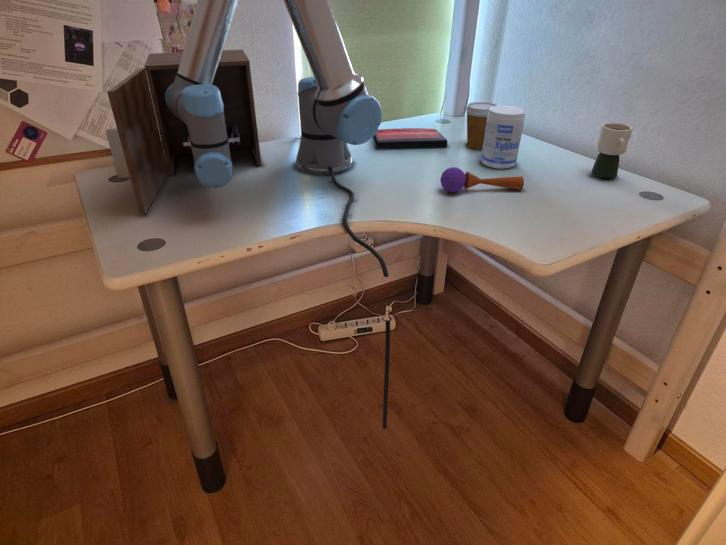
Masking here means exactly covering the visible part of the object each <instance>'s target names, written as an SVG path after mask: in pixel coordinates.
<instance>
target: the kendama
mask: <svg viewBox="0 0 726 545" xmlns="http://www.w3.org/2000/svg"><path fill="white" fill-rule="evenodd" d="M441 173H442V174H441V176H440V181H439V182H440V185H441V187H442V188H443V189H444V191H446V192H449V193H457V192H460V191H461V190H462V189H463V188H464V189H465V190H469V189H471V188H473V187H476V186H478V185H481V184H482V185H488V186H493V187H499V188H505V189H511V190H518V191H521V190H523V188H524V185H525V179H524V176H521V175H520V176H505V177H504V176H503V177H493V178H491V177H490V178H488V177H487V178H480V177H478V176H476V175H475V174H472V173H471V172H469V171H466V172H464V170H462V169H461V168H459V167H455V166H452V167H448V168H446V169H445V170H444V171H443V172H441Z"/></svg>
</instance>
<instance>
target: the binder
mask: <svg viewBox="0 0 726 545" xmlns="http://www.w3.org/2000/svg"><path fill="white" fill-rule="evenodd" d="M373 138H374V141H375V144H376V148H377V149H378V150H388V149H389V150H391V149H422V148H423V149H424V148H425V149H426V148H427V149H429V148H447V147H448V139H446V137H444V135H442V133H440V132H439V130H437V129H435V128H423V127H421V128H420V127H410V128H408V127H407V128H406V127H403V128H402V127H401V128H381V129H379V128H378V131H377V132H376V134H375V135H374V136H373Z"/></svg>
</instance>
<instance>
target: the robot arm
mask: <svg viewBox="0 0 726 545" xmlns="http://www.w3.org/2000/svg"><path fill="white" fill-rule="evenodd" d="M282 1H283V3H284V6H285V8H286V11H287V13H288V15H289V19H290V21H291V23H292V25H293V28H294V30H295V32H296V35H297V38H298V40H299V42H300V45H301V47H302V50H303V53H304V55H305V57H306V60H307V63H308V65H309V67H310V69H311V72H312V75H313V76H308V77H307V76H306V77H304V78H301V79H299V81H298V84H297V96H298V109H299V111H298V112H299V123H300V142H299V146H298V150H297V154H296V158H295V162H296V164H295V165H296V168H297V169H298V170H299V171H301V172H304V173H306V174H312V175H320V176H321V175H330V177H331V181H332V183H333V184H334V186H335V187H336V188H338V189H339V190H342V191H344V192H345V193H348V194H349V199H348V201H347V203H346V206H345V209H344V212H343V217H342V220H343V221H342V222H343V227H344V229H345V231H346V232H347V234H348V235H349V237H350V238H351V239H352V240H353V241H354V242H356V243H357V244H358V245H360V247H363V248H364V249H366V250H368V251H369V252H370V253H371V254H372V255H373V256H374V257H375V258H376V259H377V260H378V262H379V264H380V267H381V270H382V274H383V277H384V278H388V277H389V271H388V268H387V264H386V262H385V260H384V258H383V256H382V255H380V253H378V251H377V250H375V248H373V247H372V246H371V245H370V244H368V243H366V242H365V241H363V240H362V239H360V238H359V237H358V236H356V235H355V233H354V232H353V231H352V229H351V227H350V226H349V223H348V222H349V221H348V215H349V212H350V209H351V205H352V203H353V202H354V199H355V194H354V191H352V190H351V189H350V188H348V187H347V186H344V185H341V184H340V183H338V181H337V179H336V175H335V174H339V173H343V172H345V171H347V170H349V169H350V168H352V166H353V156H352V153H351V150H350V147H349V145H352V146H359V145H364V144H365V143H367V142H369V141H370V140H372V139H373V138H374V135H375V134H376V132H377V131H378V130H379V128H380V126H381V124H382V121H383V120H382V119H383V111H382V110H383V109H382V106H381V104H380V102H379V101H378V99H377V98H375V97H374V96H373V95H371V94H369V93H368V90H367V87H366V84H365V81H364V77H363V76H362V75H361V74H360V73H358V72H356V71H354V70H353V66H352V63H351V61H350V58H349V55H348V52H347V50H346V46H345V44H344V40H343V38H342V35H341V32H340V29H339V26H338V22H337V19H336V17H335V14H334V11H333V9H332V5H331V3H330V0H282ZM238 3H239V0H196V4H195V8H194V11H193V14H192V18H191V22H190V25H189V29H188V32H187V36H186V39H185V43H184V46H183V50H182V52H183V53H182V57H181V61H180V64H179V68H178V71H177V75H176V78H175V81H174V83H173V84H172V85H170V86H169V87H168V89H167V91H166V94H165V100H166V104H167V106H168V108H169V109H170V111H171V112H172V113H173V114H174V115H175V116H176V117H178V118H179V119H181V120H182V121H183V122H184V123H185V124H186V125H187V127H188V129H186V128H184V127H182V128H181V133H182V138H181V143H182V148H183V149H188V148H189V147H191V148H192V153H191V154H192V157H193V163H194V164H193V169H194V174H195V177H196V179H197V180H198V181H199V182H200V183H201V184H202V185H203V186H205V187H207V188H211V189H219V188H223V187H225V186H226V185H227V184H228V183H230V181H231V179H232V177H233V171H234V167H233V162H232V158H231V157H232V156H231V151H230V150H229V144H230V142H232V143H235V144H237V145H238V144H240V137H239V133H238V126H237V124H236V123H234V124H232V125H230V123H229V122H225V116H224V104H223V102H222V98H221V94H220V90H219V89H218V88H217V87H216V86H214V85H212V84H213V81H214V78H215V74H216V71H217V68H218V65H219V61H220V58H221V55H222V52H223V50H224V49H225V44H226V42H227V38H228V35H229V33H230V29H231V26H232V22H233V19H234V16H235V12H236V9H237V6H238ZM231 132H232V133H231ZM188 136H190V138H189V137H188ZM228 136H230V137H228ZM384 344H385V345H384V347H385V349H384V375H383V376H384V378H383V379H384V380H383V404H382V429H383V430H386V429H388V426H387V425H388V402H389V401H388V399H389V383H390V382H389V380H390V358H391V357H390V356H391V319H388V320H385V343H384Z"/></svg>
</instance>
